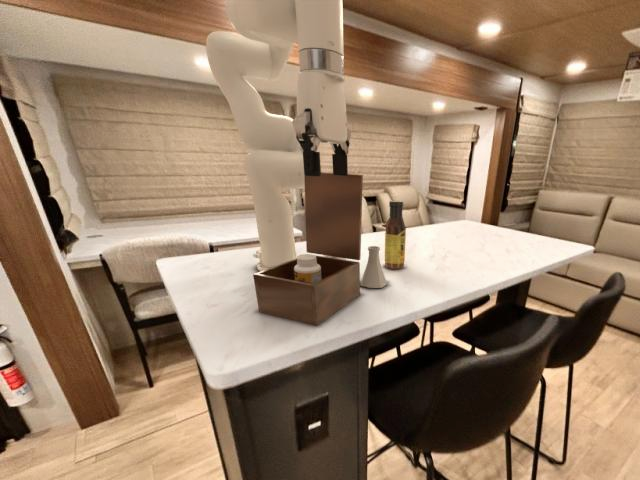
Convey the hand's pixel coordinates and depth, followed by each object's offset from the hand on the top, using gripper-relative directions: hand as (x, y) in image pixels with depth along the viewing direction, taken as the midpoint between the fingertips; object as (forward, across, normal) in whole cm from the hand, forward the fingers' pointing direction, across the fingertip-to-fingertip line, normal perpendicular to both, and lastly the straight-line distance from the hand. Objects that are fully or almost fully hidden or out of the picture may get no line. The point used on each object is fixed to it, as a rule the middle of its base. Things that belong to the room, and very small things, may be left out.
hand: (327, 175), depth 60 cm
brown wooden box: (+27, +2, -4) cm, 27 cm away
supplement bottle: (+26, +3, -4) cm, 27 cm away
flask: (+27, -14, +4) cm, 31 cm away
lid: (+9, -7, -4) cm, 12 cm away
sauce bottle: (+27, -32, +3) cm, 42 cm away
